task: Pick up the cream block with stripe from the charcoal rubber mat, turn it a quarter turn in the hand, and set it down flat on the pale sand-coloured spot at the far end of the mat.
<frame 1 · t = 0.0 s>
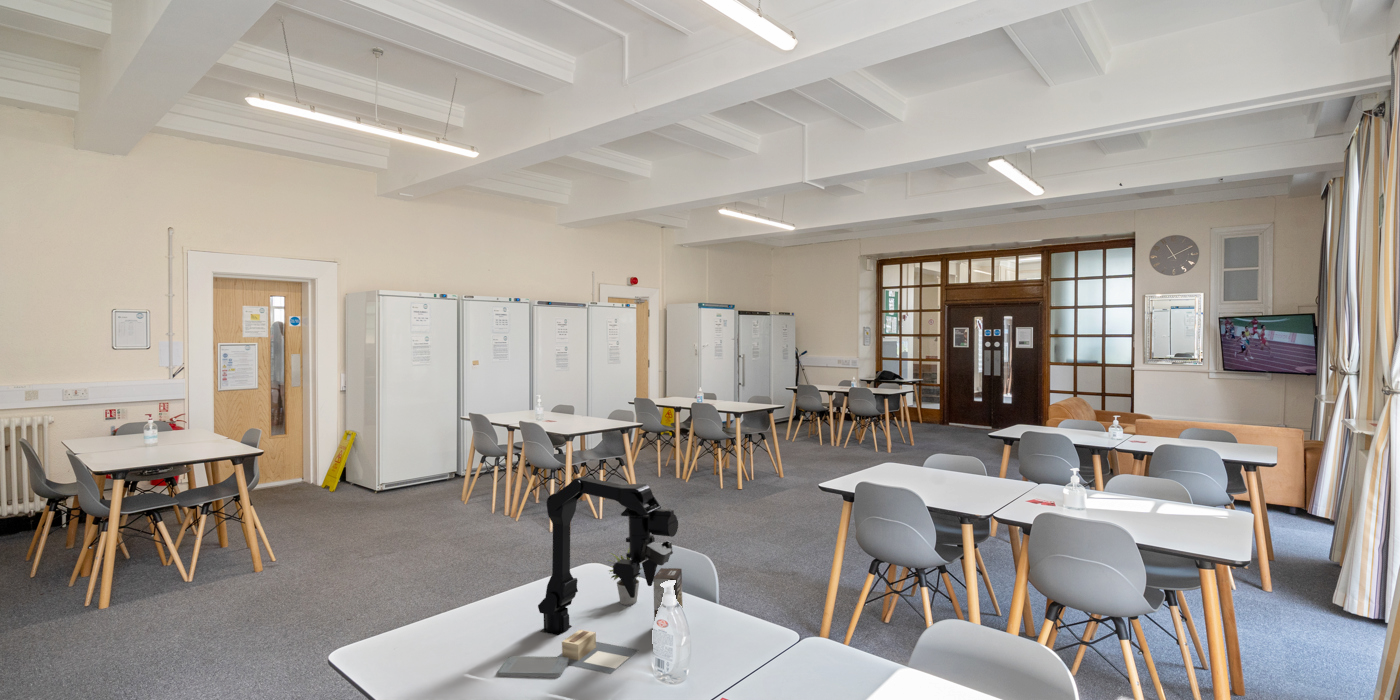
hand: (641, 591, 180), 15 cm above the table, tool pointing down, fingers open, 9 cm apart
coffee box: (669, 630, 190), on the table
cream block with stripe: (579, 652, 176), resting on mat
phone: (534, 670, 168), on the table, touching mat
house plant: (626, 601, 213), on the table
mat: (595, 657, 174), on the table
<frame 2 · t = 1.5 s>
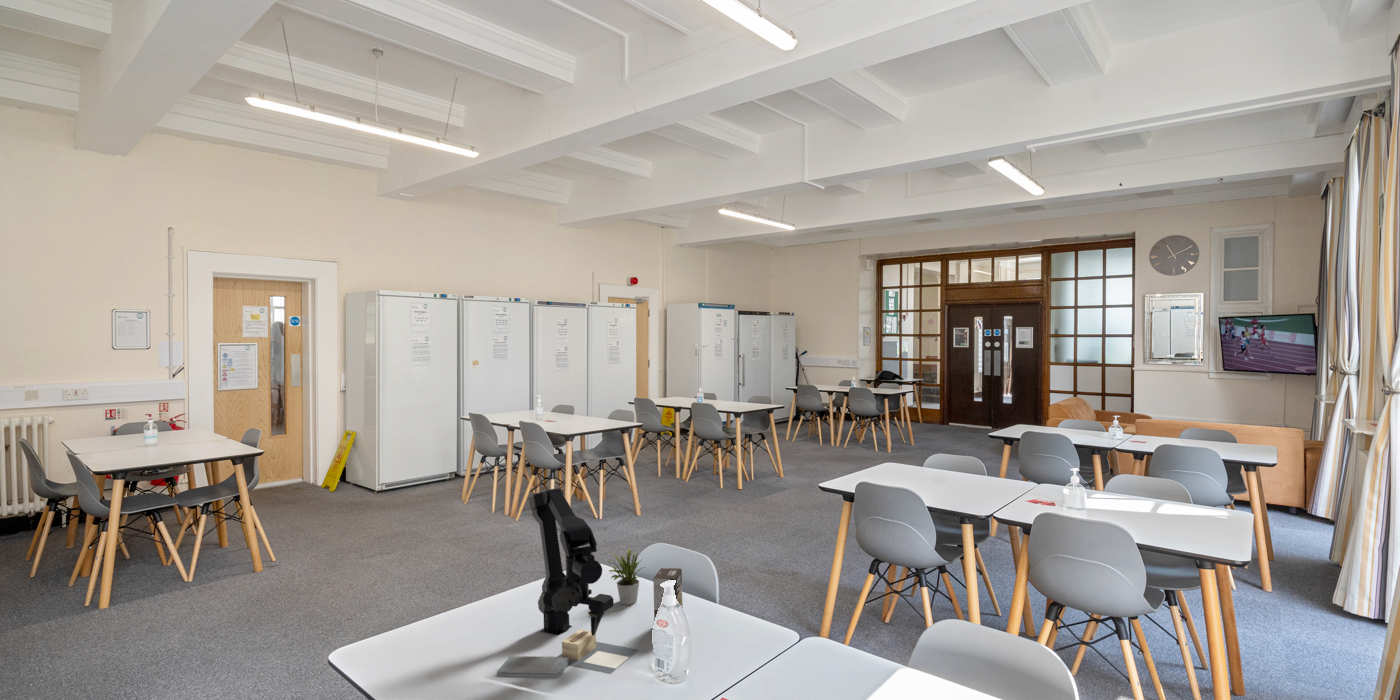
hand: (578, 632, 176), 6 cm above the table, tool pointing down, fingers open, 9 cm apart
nothing on the table moved.
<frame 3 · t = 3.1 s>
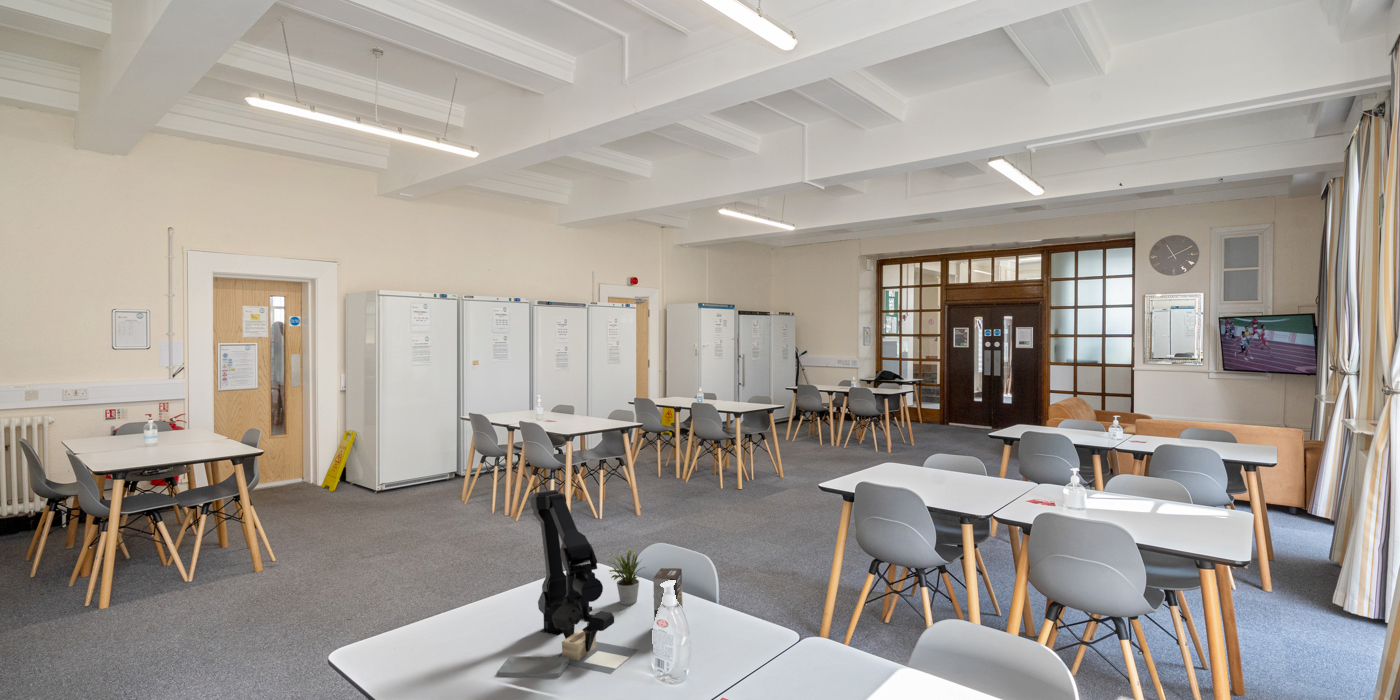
hand: (579, 649, 176), 1 cm above the table, tool pointing down, fingers closed on cream block with stripe, 5 cm apart
cream block with stripe: (579, 652, 176), resting on mat, touching gripper
everything else where it was.
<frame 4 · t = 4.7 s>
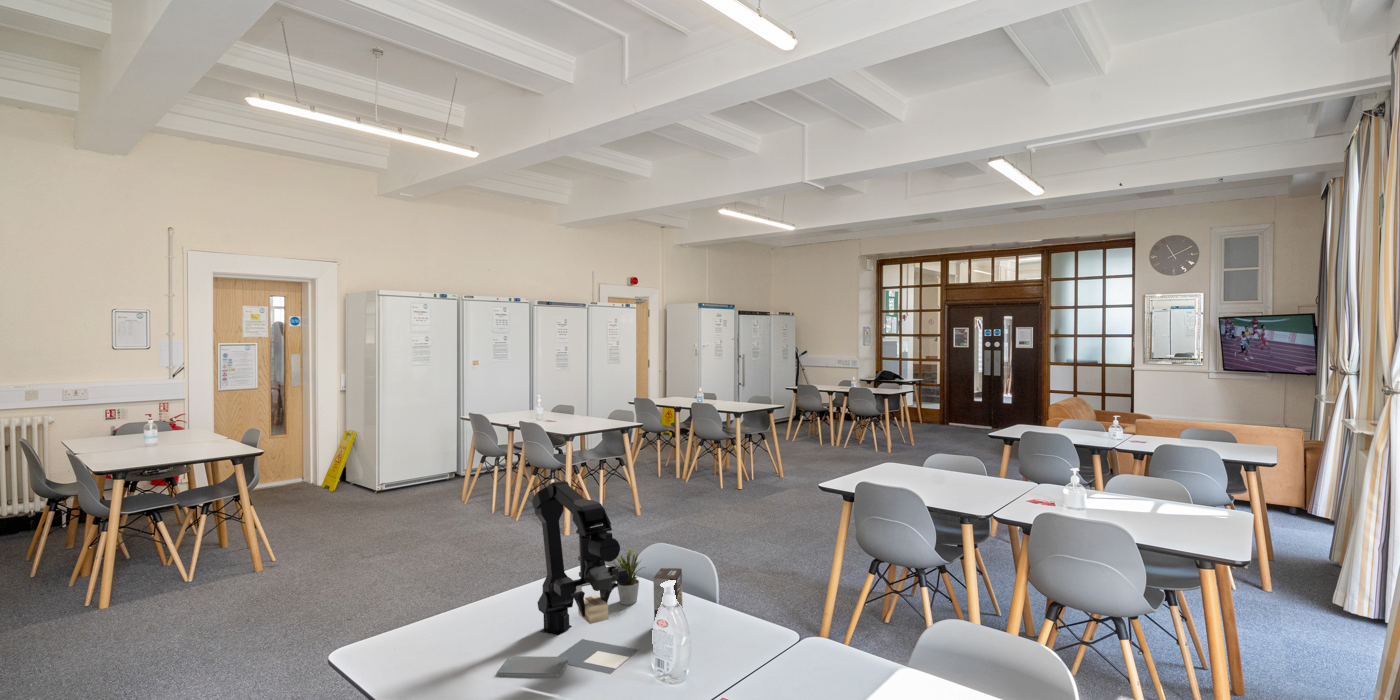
hand: (593, 614, 173), 12 cm above the table, tool pointing down, fingers closed on cream block with stripe, 5 cm apart
cream block with stripe: (593, 616, 173), point 11 cm above the table, touching gripper
everything else where it was.
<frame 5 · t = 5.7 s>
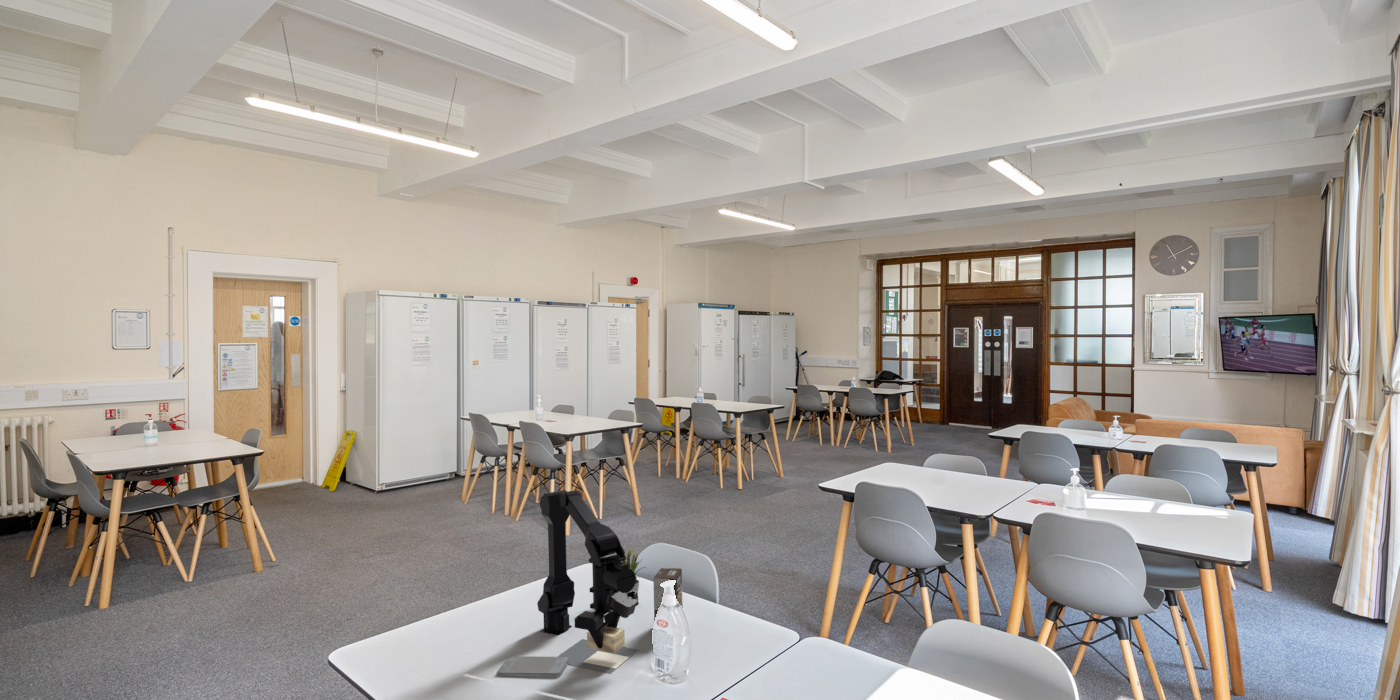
hand: (605, 643, 172), 5 cm above the table, tool pointing down, fingers closed on cream block with stripe, 5 cm apart
cream block with stripe: (606, 646, 172), point 4 cm above the table, touching gripper
everything else where it was.
when the fingers open (2 cm above the table, at t = 6.5 s): cream block with stripe drops 1 cm, resting on mat.
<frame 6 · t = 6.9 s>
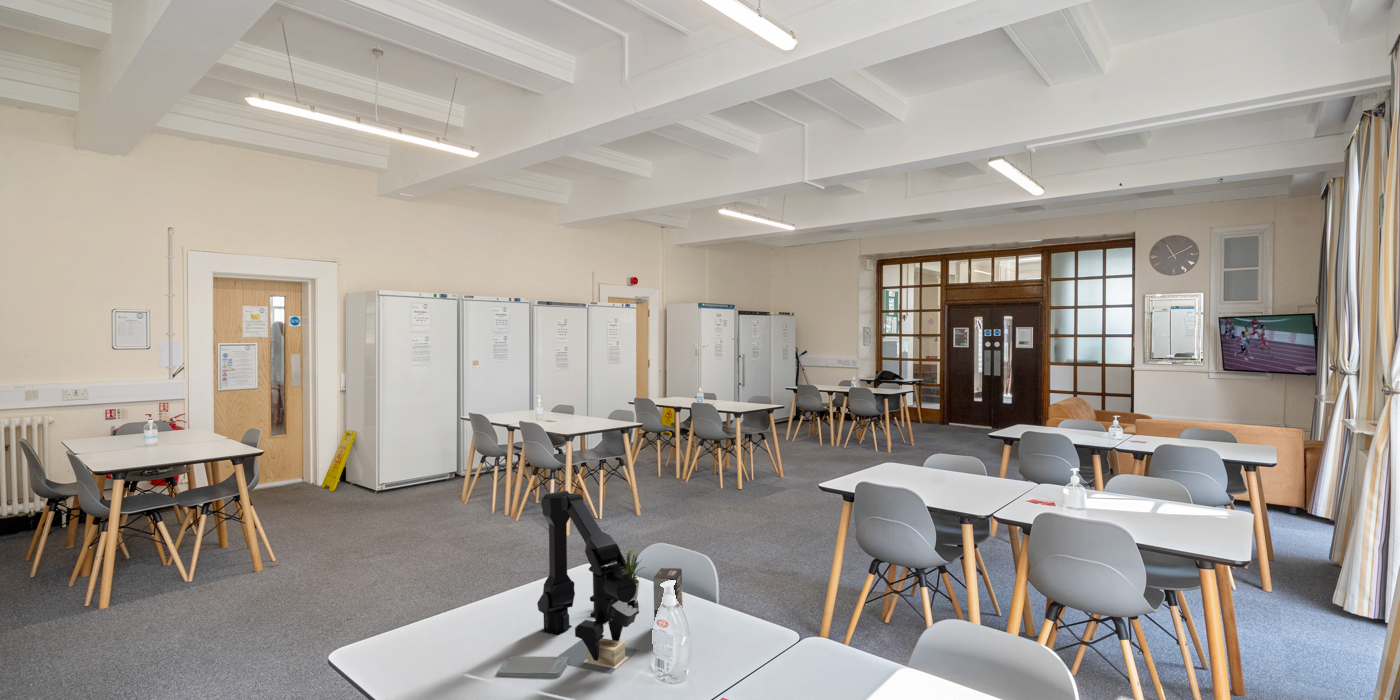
hand: (606, 652, 172), 2 cm above the table, tool pointing down, fingers open, 9 cm apart
cream block with stripe: (606, 659, 172), point 1 cm above the table, touching mat
everything else where it was.
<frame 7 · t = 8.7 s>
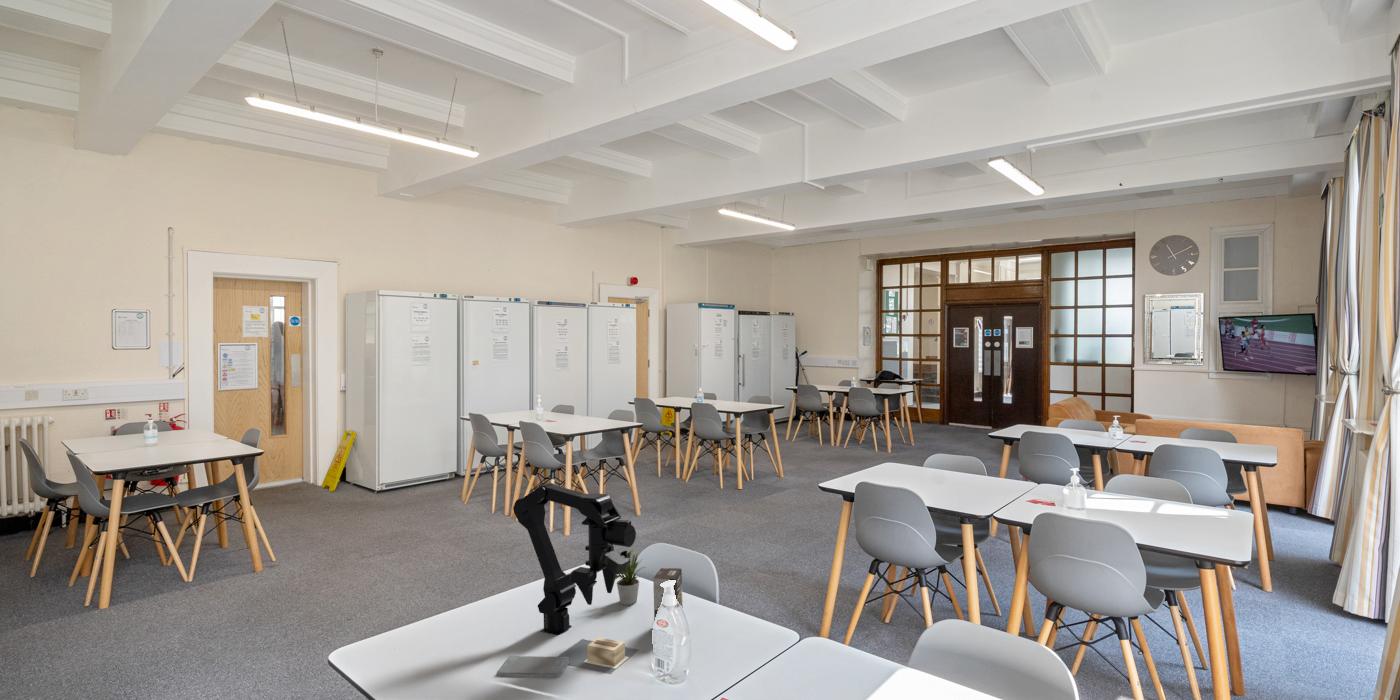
hand: (599, 598, 184), 11 cm above the table, tool pointing down, fingers open, 9 cm apart
nothing on the table moved.
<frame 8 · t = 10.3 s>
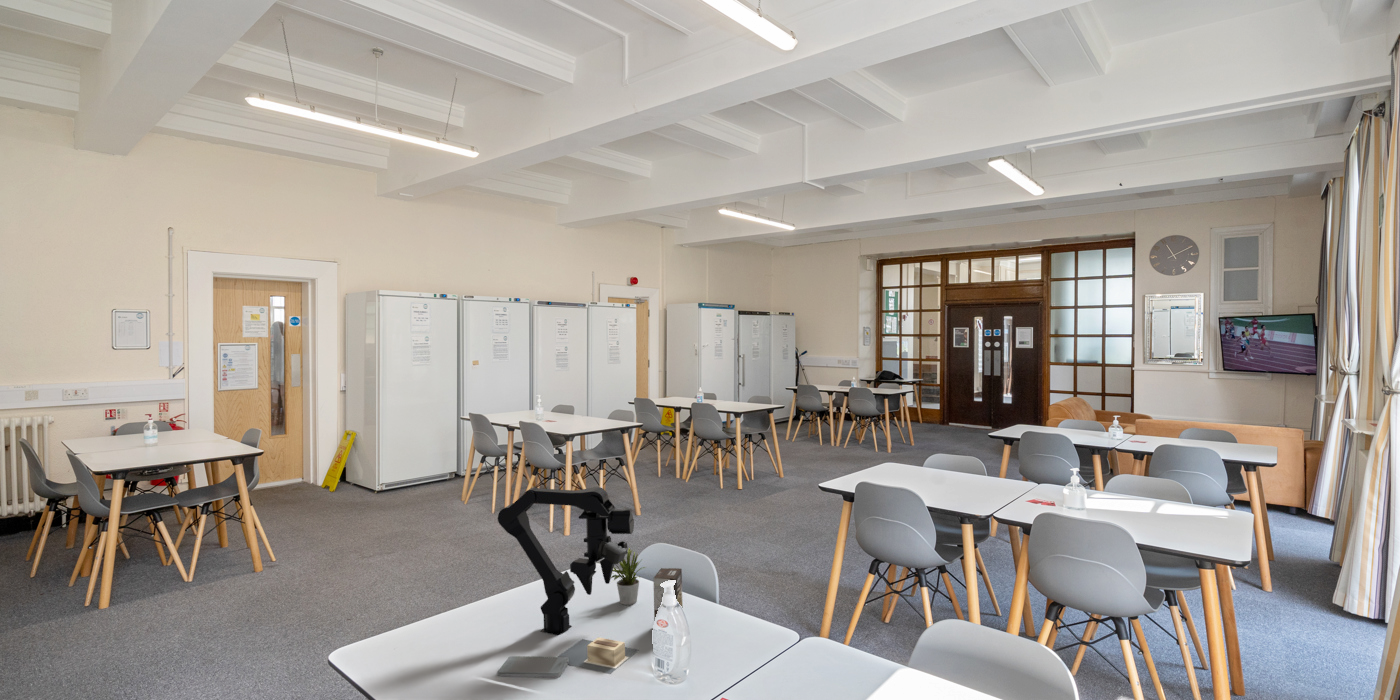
hand: (598, 588, 190), 12 cm above the table, tool pointing down, fingers open, 9 cm apart
nothing on the table moved.
at the end: cream block with stripe inside the target area on the mat (0.0 cm from its centre), point 0.5 cm above the mat's base; cream block with stripe tilted 0°; the gripper is holding nothing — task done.
